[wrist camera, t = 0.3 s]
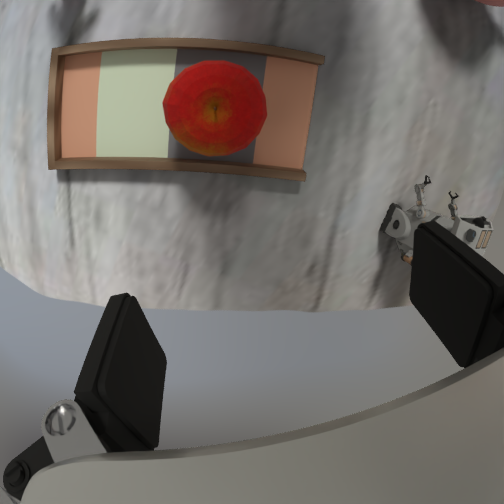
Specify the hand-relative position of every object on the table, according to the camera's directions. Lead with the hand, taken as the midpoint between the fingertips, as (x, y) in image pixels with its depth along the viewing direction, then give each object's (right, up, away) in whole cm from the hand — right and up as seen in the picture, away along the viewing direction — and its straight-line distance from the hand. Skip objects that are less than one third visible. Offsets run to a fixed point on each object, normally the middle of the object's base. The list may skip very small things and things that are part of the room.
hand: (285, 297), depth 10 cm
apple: (-5, +18, +23) cm, 29 cm away
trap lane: (-9, +18, +22) cm, 30 cm away
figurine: (+22, +8, +32) cm, 40 cm away
